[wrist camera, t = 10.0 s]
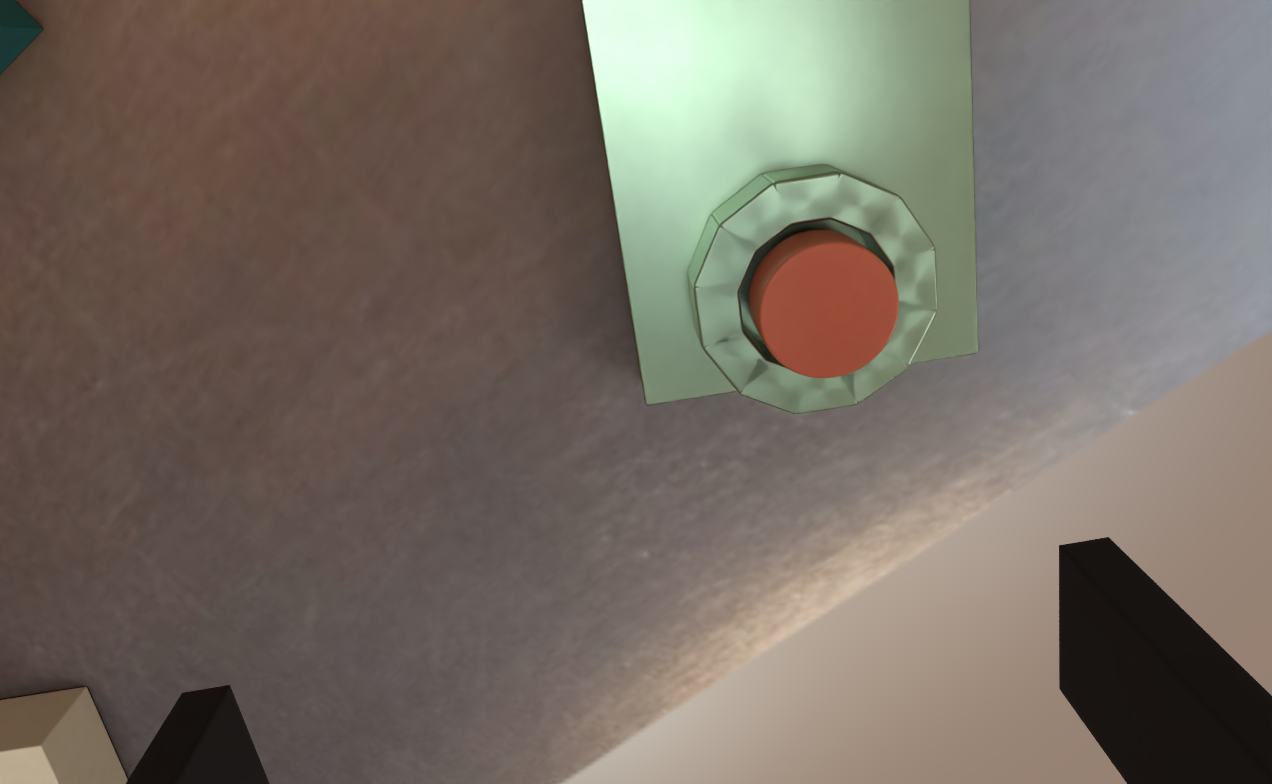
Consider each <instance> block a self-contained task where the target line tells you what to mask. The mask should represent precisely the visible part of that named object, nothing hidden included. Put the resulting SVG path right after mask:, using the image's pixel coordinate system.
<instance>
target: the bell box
mask: <svg viewBox="0 0 1272 784" xmlns="http://www.w3.org/2000/svg"><path fill="white" fill-rule="evenodd" d="M581 6H582V12H583V18H584V24H585V31H586V37H587V43H588V49H589V56H590V62H591V68H592V74H593V81H594V87H595V93H596V99H597V105H598V112H599V118H600V124H601V130H602V137H603V143H604V149H605V155H606V162H607V168H608V174H609V180H610V187H611V193H612V199H613V205H614V212H615V218H616V224H617V230H618V237H619V243H620V249H621V255H622V262H623V268H624V274H625V280H626V286H627V293H628V299H629V305H630V311H631V318H632V324H633V330H634V336H635V343H636V349H637V355H638V361H639V368H640V374H641V380H642V386H643V393H644V399H645V404H646V405H647V406H648V405H655V404H661V403H667V402H673V401H680V400H686V399H692V398H699V397H705V396H711V395H717V394H724V393H730V392H736V391H737V392H739V393H740V394H741V395H743V396H746V397H748V398H751V399H754V400H757V401H760V402H762V403H765V404H768V405H771V406H774V407H776V408H779V409H782V410H785V411H788V412H790V413H793V414H801V413H807V412H814V411H820V410H826V409H833V408H839V407H845V406H852V405H856V404H858V403H860V402H862V401H863V400H864V399H866V398H867V397H869V396H870V395H871V394H873V393H874V392H875V391H877V390H878V389H880V388H881V387H882V386H884V385H885V384H887V383H888V382H889V381H891V380H892V379H893V378H895V377H896V376H898V375H899V374H900V373H902V372H903V371H905V370H906V369H907V368H908V366H909V365H910V364H913V363H919V362H925V361H932V360H938V359H944V358H950V357H957V356H963V355H969V354H976V353H978V321H977V276H976V232H975V187H974V143H973V98H972V54H971V10H970V0H581ZM809 230H831V231H836V232H839V233H842V234H845V235H847V236H849V237H851V238H853V239H854V240H856V241H857V242H859V243H860V244H861V245H863V246H864V247H865V248H867V249H868V250H869V251H871V252H872V253H873V254H875V255H876V256H877V257H878V258H879V259H881V260H882V261H883V263H884V264H885V265H886V266H887V267H888V269H889V271H890V272H891V274H892V276H893V278H894V280H895V283H896V286H897V290H898V296H899V313H898V319H897V322H896V326H895V329H894V331H893V333H892V336H891V337H890V339H889V341H888V343H887V344H886V346H885V347H884V348H883V350H882V351H881V352H880V353H879V354H878V355H877V356H876V357H875V358H874V359H873V360H872V361H870V362H869V363H868V364H866V365H865V366H863V367H862V368H860V369H858V370H856V371H854V372H852V373H849V374H846V375H843V376H839V377H834V378H813V377H807V376H804V375H800V374H798V373H796V372H793V371H791V370H790V369H788V368H786V367H785V366H783V365H782V364H781V363H780V362H779V361H777V359H776V358H775V357H774V356H773V355H772V354H771V352H770V351H769V349H768V348H767V346H766V345H765V343H764V341H763V339H762V338H761V336H760V334H759V333H758V331H757V329H756V327H755V325H754V323H753V320H752V317H751V314H750V308H749V290H750V285H751V281H752V278H753V275H754V273H755V271H756V269H757V267H758V265H759V263H760V262H761V261H762V259H763V258H764V256H765V255H766V254H767V253H768V252H769V251H770V250H771V249H772V248H773V247H774V246H776V245H777V244H778V243H780V242H781V241H783V240H784V239H786V238H788V237H790V236H792V235H795V234H797V233H800V232H804V231H809Z"/></svg>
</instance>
